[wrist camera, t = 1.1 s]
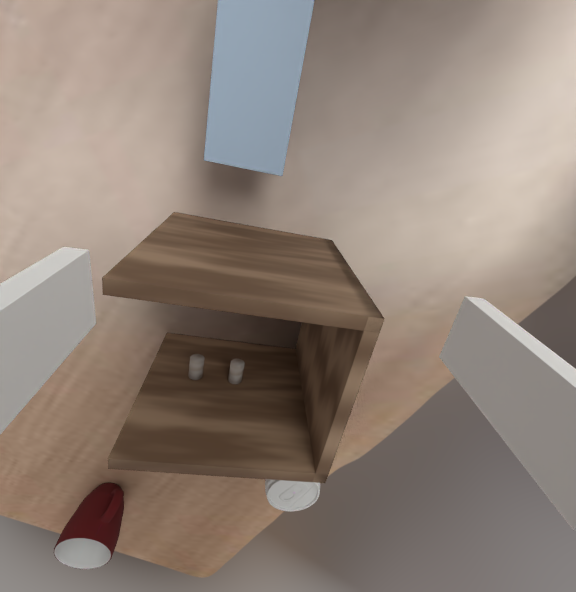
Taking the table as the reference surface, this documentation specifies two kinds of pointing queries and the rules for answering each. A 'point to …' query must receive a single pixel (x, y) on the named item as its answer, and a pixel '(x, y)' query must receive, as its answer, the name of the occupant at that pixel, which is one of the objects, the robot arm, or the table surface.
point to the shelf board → (255, 81)
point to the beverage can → (291, 494)
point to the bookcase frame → (245, 353)
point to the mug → (92, 529)
